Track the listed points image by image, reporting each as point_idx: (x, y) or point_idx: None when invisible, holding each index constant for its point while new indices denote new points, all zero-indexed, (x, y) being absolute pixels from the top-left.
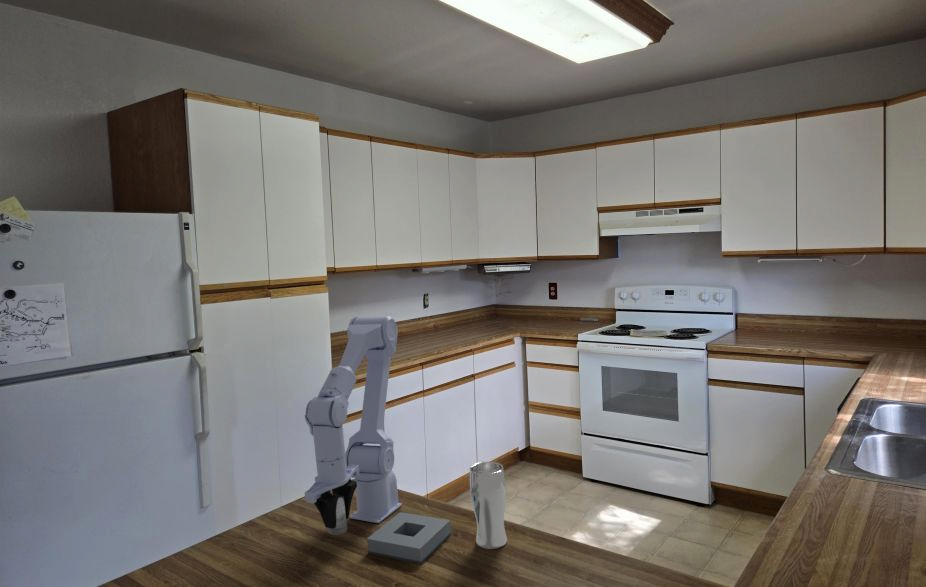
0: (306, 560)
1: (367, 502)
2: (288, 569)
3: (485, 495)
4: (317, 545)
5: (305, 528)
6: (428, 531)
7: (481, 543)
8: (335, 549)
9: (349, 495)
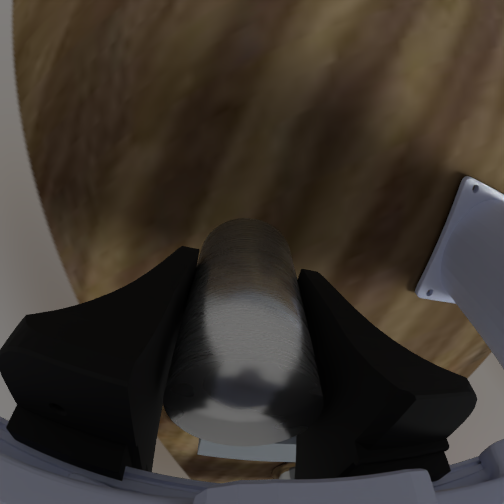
0: (131, 143)
1: (473, 291)
2: (68, 115)
3: None
4: (251, 123)
5: (389, 14)
6: (278, 453)
7: (276, 473)
8: (229, 215)
9: (298, 444)
